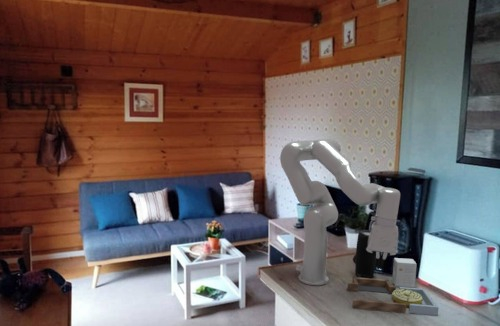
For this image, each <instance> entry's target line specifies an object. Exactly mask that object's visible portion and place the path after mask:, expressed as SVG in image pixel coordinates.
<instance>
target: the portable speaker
mask: <svg viewBox="0 0 500 326" xmlns="http://www.w3.org/2000/svg"><path fill="white" fill-rule="evenodd" d="M370 230H371V229H370ZM370 230H369V229H363V230H360V231H358V235H357V241H356V248H355V265H354V266H355V274H356V275H357V276H358V278H374V275H375V272H376V266H375V258H376V257H375V255H374V254H373V253H370V252H368V251H367V250H366V249H367V246H368V238H369V233H370Z"/></svg>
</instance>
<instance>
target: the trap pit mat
mask: <svg viewBox="0 0 500 326" xmlns="http://www.w3.org/2000/svg"><path fill="white" fill-rule="evenodd" d="M358 292H371V293H382V294H383V293H385V294H388V292H387V290H386V288H384V287H372V286H360V285H358Z"/></svg>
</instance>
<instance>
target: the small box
mask: <svg viewBox="0 0 500 326" xmlns="http://www.w3.org/2000/svg"><path fill="white" fill-rule="evenodd" d="M417 266H418V265H417V263H416V261H415V260H414V259H413V258H402V257H401V258H398V257H394V258H393V268H392V281H391V282H392V283H393V284H394V285H393V286H395V287H398V288H399V287H408V288H416V277H417V276H416V275H417Z"/></svg>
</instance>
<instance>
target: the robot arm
mask: <svg viewBox="0 0 500 326" xmlns="http://www.w3.org/2000/svg"><path fill="white" fill-rule="evenodd" d="M279 160H280V166H281V168H282V170H283V172H284V173H285V176H286V177H287V179H288V181H289V184H290V186H291V188H292V191H293V193H294V195H295V197H296V199H297V202H299V204H301V205H302V206H309V205H313V206H312V207H310V208H308V209H307V210H306V211H305V212H304V215H303V228H304V241H303V242H304V243H303V259H302V265H301V264H296V266H295V271H297V272H299V274H298V281H300V282H301V283H303V284H306V285H310V286H316V287H317V286H325V285H327V284H328V283H329V281H330V279H329V277H328V275H326V269H327V257H328V256H327V253H328V233H327V232H328V231H327V227H331V226H332V225H333V224H335V223H336V222H337V221H338V218H339V211H338V208H337V206H336V204H335V202H334V200H333V198H332V196H331V193H330V192H329V189H328V188H327V186H326V185H325V184H324V183H323V182H321V181H319V180H311V178H310V176H309V173H308V171H307V170H306V168H305V167H304V166H303V165H302V163H301V162H303V161H313V160H317V161H318V162H319V163H320V164H321V165H322V166H323V167H324V168H326V169H327V170H328V172H329V173H330V174H331V175H333V177H334V178H335V181H336V183H337V184H338V185H337V186H339V188H340V190H341V191H342V192H343V193H344V194H345V195H346V196H347V197H348V198H349V199H350V200H351V202H354V203H355V204H356V205H358V206H361V207H362V206H363V207H365V206H369V205H371V204H376V211H375V215H374V216H371V218H370V220H371V221H373V222H372V224H371V227H370V233H369V238H368V246H367V249H366V250H367V251H368V252H370V253H373V254H374V255H375V257H376V258H375V268H376V270H382V268H383V267H384V266H385V260H386V259H387V258H388V257H390V256H395V255H396V254H397V251H398V244H399V243H398V242H399V226H397V221H398V220H397V219H398V214H399V206H400V201H401V192H400V190H398V189H396V188H393V187H385V186H382V185H381V184H380V185H379V184H377V183H374V182H371V183H365V184H363V183H362V182H361V181H360V180H359V179H358V178H357V177H356V176H355V175H354V174H353V172H352V169H351V166H352V163H351V161H350V159H349V158H348V157H346V156H345V155H344V154H343V153H342V152H341V145H340V143H339V142H338V141H337V140H335V139H332V138H325V139H324V138H323V139H319V140H318V139H317V140H296V141H291V142H289V143H286V145H284V146H283V148H282V149H281V152H280V157H279ZM380 253H381V255H380Z"/></svg>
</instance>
